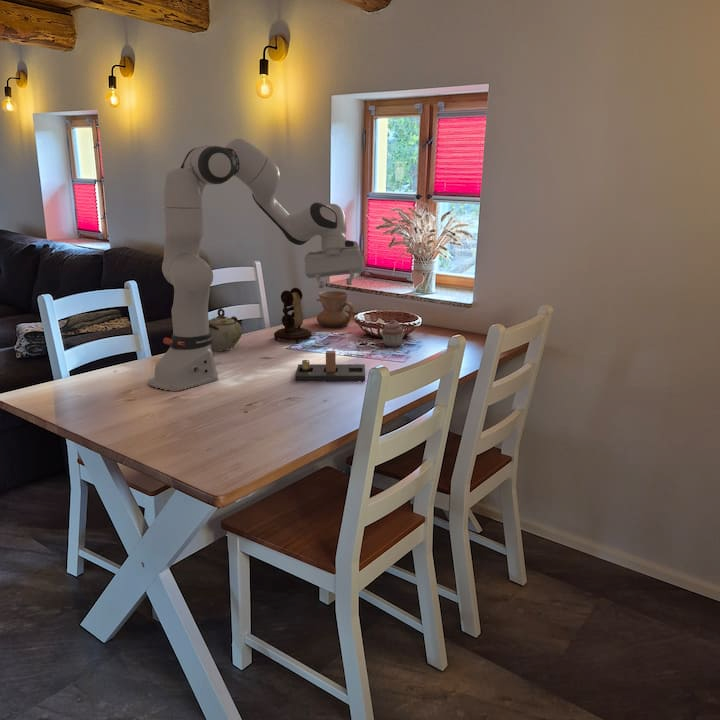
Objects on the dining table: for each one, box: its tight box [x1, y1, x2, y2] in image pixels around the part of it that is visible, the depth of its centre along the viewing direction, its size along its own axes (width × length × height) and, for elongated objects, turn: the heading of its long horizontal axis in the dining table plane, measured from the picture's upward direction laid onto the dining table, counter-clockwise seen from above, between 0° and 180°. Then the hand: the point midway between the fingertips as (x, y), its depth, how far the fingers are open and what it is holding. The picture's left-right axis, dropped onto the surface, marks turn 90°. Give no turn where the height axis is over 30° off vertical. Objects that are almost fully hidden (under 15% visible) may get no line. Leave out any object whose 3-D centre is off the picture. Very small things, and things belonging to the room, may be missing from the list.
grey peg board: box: [294, 359, 366, 383], centre depth 199 cm, size 22×12×5 cm, turn 90°
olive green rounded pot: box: [209, 308, 243, 351], centre depth 230 cm, size 20×15×15 cm
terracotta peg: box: [325, 350, 337, 372], centre depth 199 cm, size 3×3×8 cm
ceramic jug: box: [316, 290, 354, 328], centre depth 265 cm, size 18×14×14 cm
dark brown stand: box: [273, 287, 313, 344], centre depth 242 cm, size 15×15×20 cm
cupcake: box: [380, 319, 405, 348], centre depth 235 cm, size 9×9×10 cm
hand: (335, 285), depth 207 cm, fingers open, 8 cm apart
